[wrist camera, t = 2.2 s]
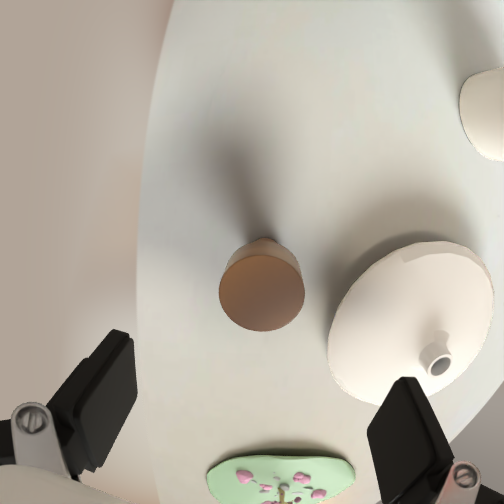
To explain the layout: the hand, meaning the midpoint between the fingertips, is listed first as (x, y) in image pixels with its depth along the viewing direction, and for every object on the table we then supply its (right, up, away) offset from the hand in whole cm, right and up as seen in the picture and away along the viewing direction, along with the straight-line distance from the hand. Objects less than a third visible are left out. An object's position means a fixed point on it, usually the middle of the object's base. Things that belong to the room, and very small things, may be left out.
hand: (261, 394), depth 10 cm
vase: (+13, -1, +14) cm, 20 cm away
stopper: (+1, +5, +13) cm, 14 cm away
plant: (+3, -30, +25) cm, 39 cm away
